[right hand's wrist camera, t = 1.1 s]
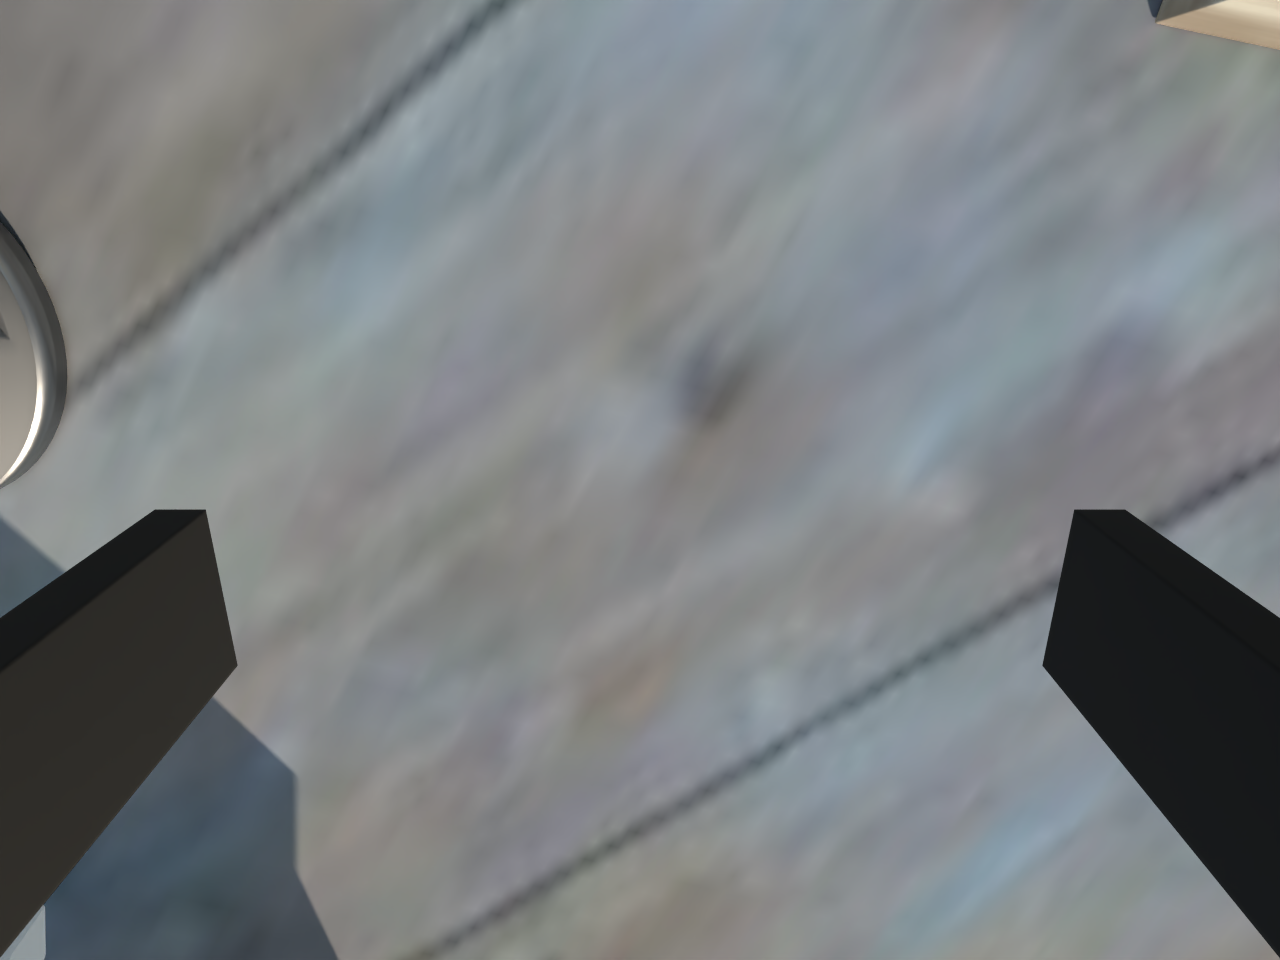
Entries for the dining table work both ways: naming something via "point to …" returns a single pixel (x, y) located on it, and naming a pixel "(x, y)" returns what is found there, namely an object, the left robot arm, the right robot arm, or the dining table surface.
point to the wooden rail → (1226, 19)
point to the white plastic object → (29, 940)
